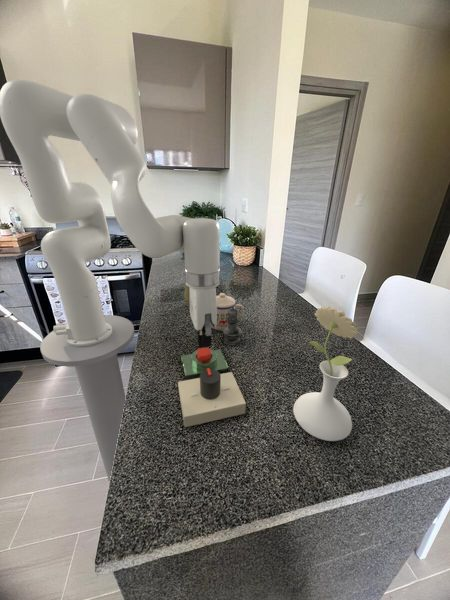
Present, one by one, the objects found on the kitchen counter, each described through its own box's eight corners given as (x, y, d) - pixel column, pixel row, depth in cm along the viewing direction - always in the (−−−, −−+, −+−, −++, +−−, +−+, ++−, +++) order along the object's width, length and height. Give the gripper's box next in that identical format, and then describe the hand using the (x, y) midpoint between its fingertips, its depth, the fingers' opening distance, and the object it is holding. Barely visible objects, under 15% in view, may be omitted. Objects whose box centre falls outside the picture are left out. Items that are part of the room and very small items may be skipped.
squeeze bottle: (199, 299, 105) (198, 258, 97) (208, 307, 99) (208, 263, 91) (181, 303, 101) (179, 260, 94) (189, 312, 95) (187, 266, 87)
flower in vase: (363, 436, 49) (404, 327, 39) (315, 454, 46) (345, 340, 35) (319, 389, 60) (342, 294, 50) (278, 401, 57) (293, 302, 46)
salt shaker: (227, 333, 82) (228, 300, 77) (244, 338, 80) (246, 304, 74) (219, 342, 77) (219, 307, 72) (236, 347, 75) (237, 312, 70)
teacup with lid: (210, 332, 82) (210, 300, 77) (207, 319, 90) (207, 289, 85) (246, 329, 84) (248, 298, 79) (239, 316, 92) (241, 287, 88)
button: (198, 362, 63) (198, 357, 62) (196, 354, 66) (195, 348, 65) (212, 360, 64) (212, 354, 63) (209, 351, 67) (209, 346, 66)
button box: (185, 382, 62) (184, 369, 60) (181, 362, 69) (180, 350, 67) (228, 374, 64) (228, 362, 63) (220, 355, 71) (220, 344, 70)
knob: (222, 397, 54) (222, 380, 52) (202, 401, 52) (201, 384, 50) (217, 382, 57) (217, 366, 55) (198, 386, 56) (198, 369, 54)
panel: (184, 427, 50) (183, 416, 49) (178, 391, 59) (177, 381, 58) (245, 413, 54) (246, 402, 52) (231, 381, 62) (231, 371, 61)
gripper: (181, 268, 61) (185, 332, 69) (191, 291, 48) (194, 367, 56) (211, 266, 63) (212, 328, 71) (228, 287, 50) (227, 361, 58)
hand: (204, 345), depth 63 cm, fingers closed
